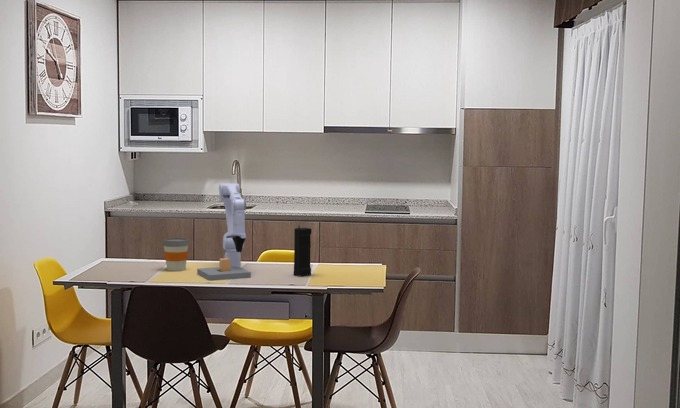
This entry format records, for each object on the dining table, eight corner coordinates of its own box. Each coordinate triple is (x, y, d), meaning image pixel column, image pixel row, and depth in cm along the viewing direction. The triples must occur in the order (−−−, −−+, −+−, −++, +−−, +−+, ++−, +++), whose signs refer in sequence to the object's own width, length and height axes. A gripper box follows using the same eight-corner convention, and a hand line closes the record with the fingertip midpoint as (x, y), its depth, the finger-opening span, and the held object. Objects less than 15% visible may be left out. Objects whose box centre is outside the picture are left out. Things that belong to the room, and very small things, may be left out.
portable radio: (305, 273, 388) (305, 222, 386) (313, 274, 384) (313, 223, 381) (292, 275, 383) (292, 223, 381) (300, 276, 378) (300, 224, 376)
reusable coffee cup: (192, 267, 402) (191, 238, 401) (184, 272, 389) (184, 241, 388) (167, 267, 403) (167, 237, 402) (159, 271, 391) (159, 241, 389)
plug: (219, 275, 381) (219, 258, 381) (227, 274, 383) (227, 258, 382) (222, 276, 378) (222, 259, 377) (230, 275, 380) (230, 259, 379)
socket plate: (197, 273, 385) (197, 268, 384) (236, 270, 394) (236, 265, 393) (209, 280, 367) (209, 275, 367) (250, 277, 376) (250, 272, 376)
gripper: (226, 223, 390) (226, 250, 391) (235, 225, 377) (236, 253, 378) (239, 222, 393) (240, 249, 394) (249, 224, 380) (250, 253, 381)
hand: (239, 251), depth 386 cm, fingers closed
